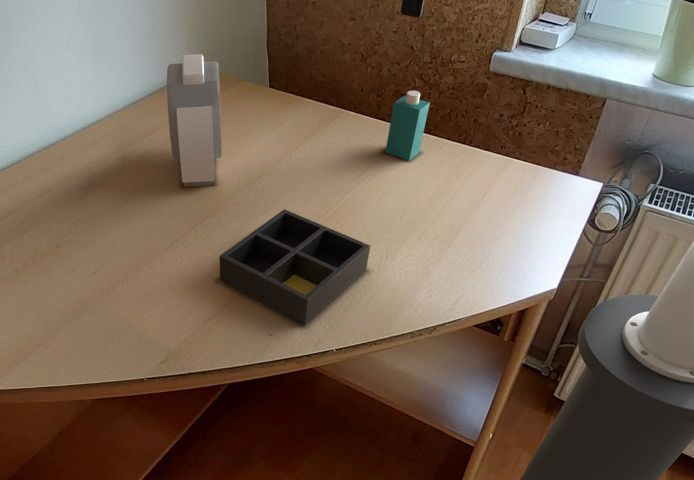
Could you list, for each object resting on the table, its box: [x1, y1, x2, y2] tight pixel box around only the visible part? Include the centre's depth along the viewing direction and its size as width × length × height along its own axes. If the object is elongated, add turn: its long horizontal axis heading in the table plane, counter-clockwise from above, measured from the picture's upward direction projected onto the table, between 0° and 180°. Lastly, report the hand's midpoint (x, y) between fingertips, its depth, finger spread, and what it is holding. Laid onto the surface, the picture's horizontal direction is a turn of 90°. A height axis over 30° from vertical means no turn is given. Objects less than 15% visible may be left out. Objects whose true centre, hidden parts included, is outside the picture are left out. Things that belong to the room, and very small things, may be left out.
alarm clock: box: [166, 53, 223, 187], centre depth 108 cm, size 18×8×20 cm, turn 0°
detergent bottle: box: [384, 90, 431, 161], centre depth 111 cm, size 5×4×11 cm
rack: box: [218, 209, 371, 326], centre depth 90 cm, size 15×15×5 cm
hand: (426, 6), depth 95 cm, fingers open, 9 cm apart
